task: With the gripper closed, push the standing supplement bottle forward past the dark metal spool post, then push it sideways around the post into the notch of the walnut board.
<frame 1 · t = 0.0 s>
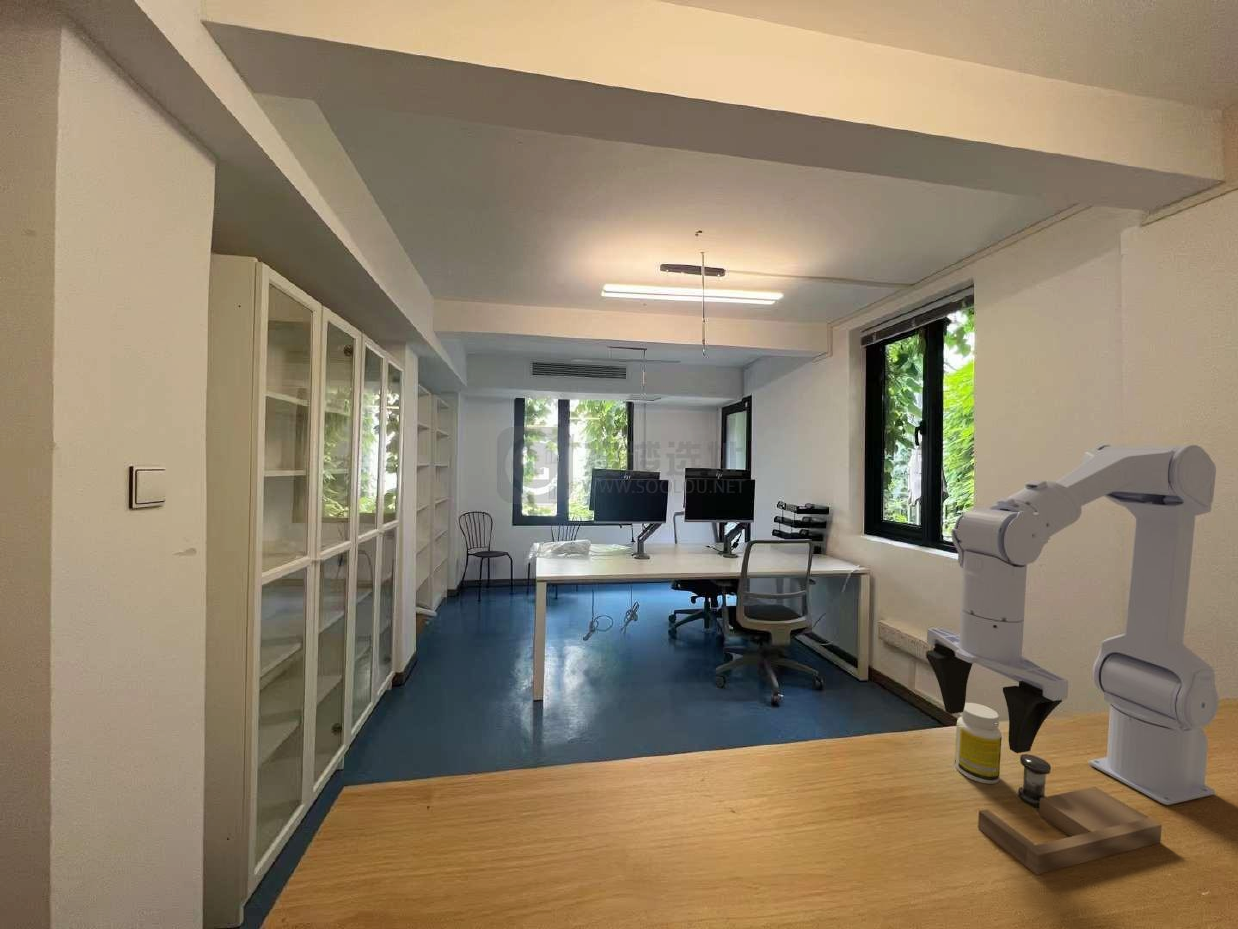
hand: (984, 729, 55), 10 cm above the table, tool pointing down, fingers open, 7 cm apart
notched board: (1037, 838, 52), on the table
supplement bottle: (976, 774, 63), on the table
spool post: (1033, 800, 58), on the table
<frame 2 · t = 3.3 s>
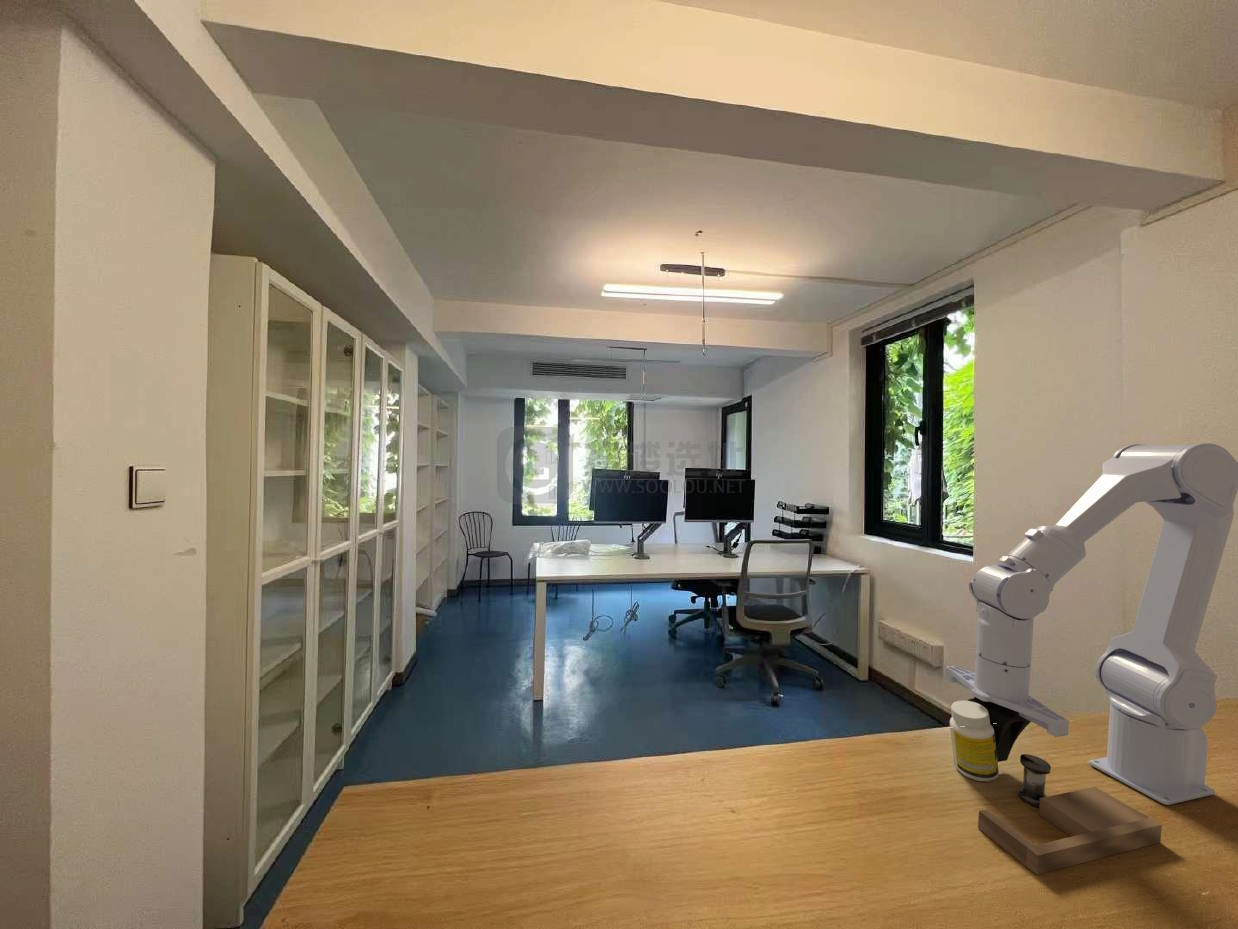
hand: (996, 758, 64), 1 cm above the table, tool pointing down, fingers closed
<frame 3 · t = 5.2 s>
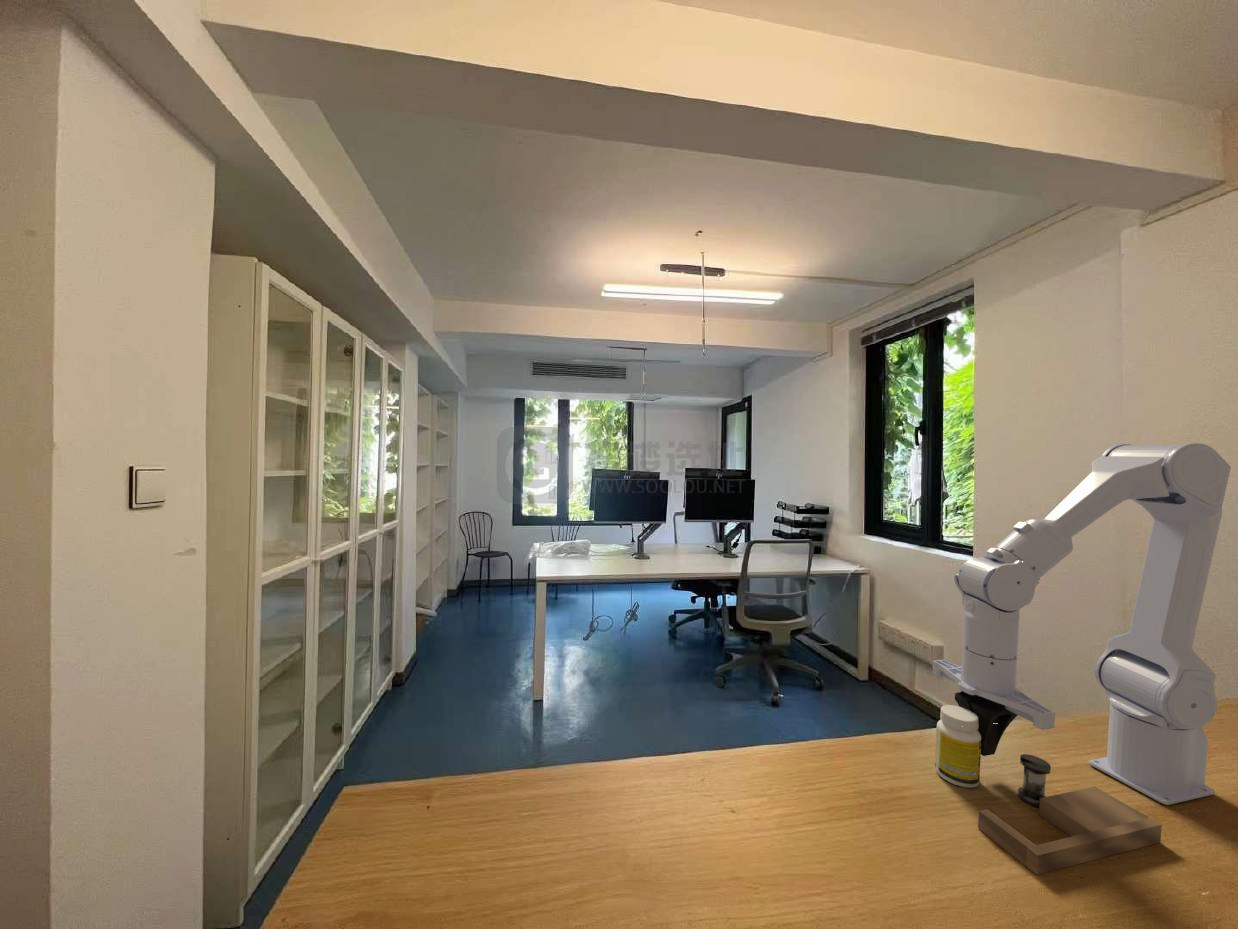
hand: (983, 752, 63), 3 cm above the table, tool pointing down, fingers closed, pressing on supplement bottle
supplement bottle: (956, 777, 62), on the table, touching gripper
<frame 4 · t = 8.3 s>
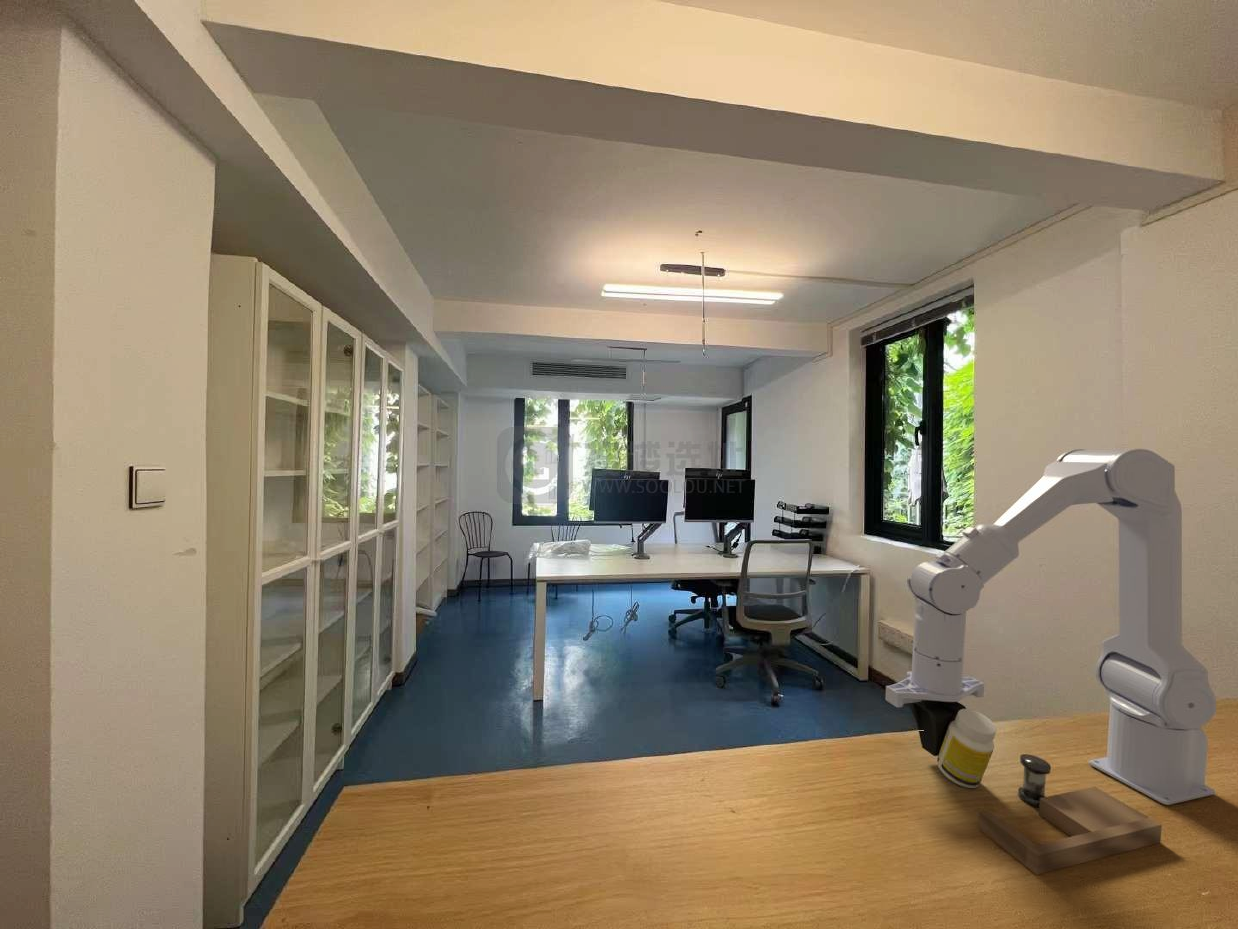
hand: (931, 751, 65), 1 cm above the table, tool pointing down, fingers closed
supplement bottle: (956, 773, 62), on the table, touching gripper
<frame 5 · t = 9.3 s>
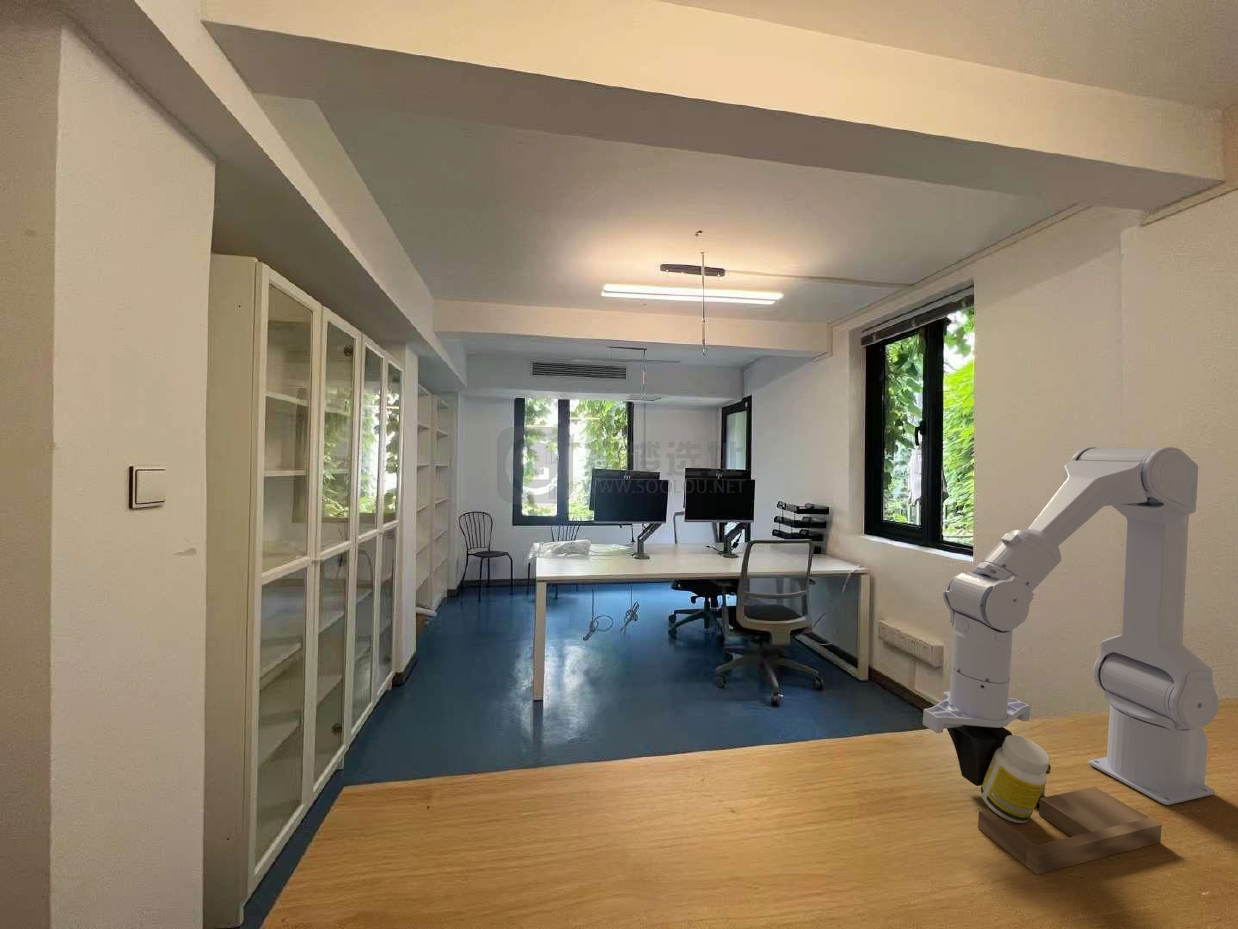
hand: (973, 780, 59), 2 cm above the table, tool pointing down, fingers closed
supplement bottle: (1003, 805, 56), on the table, touching gripper
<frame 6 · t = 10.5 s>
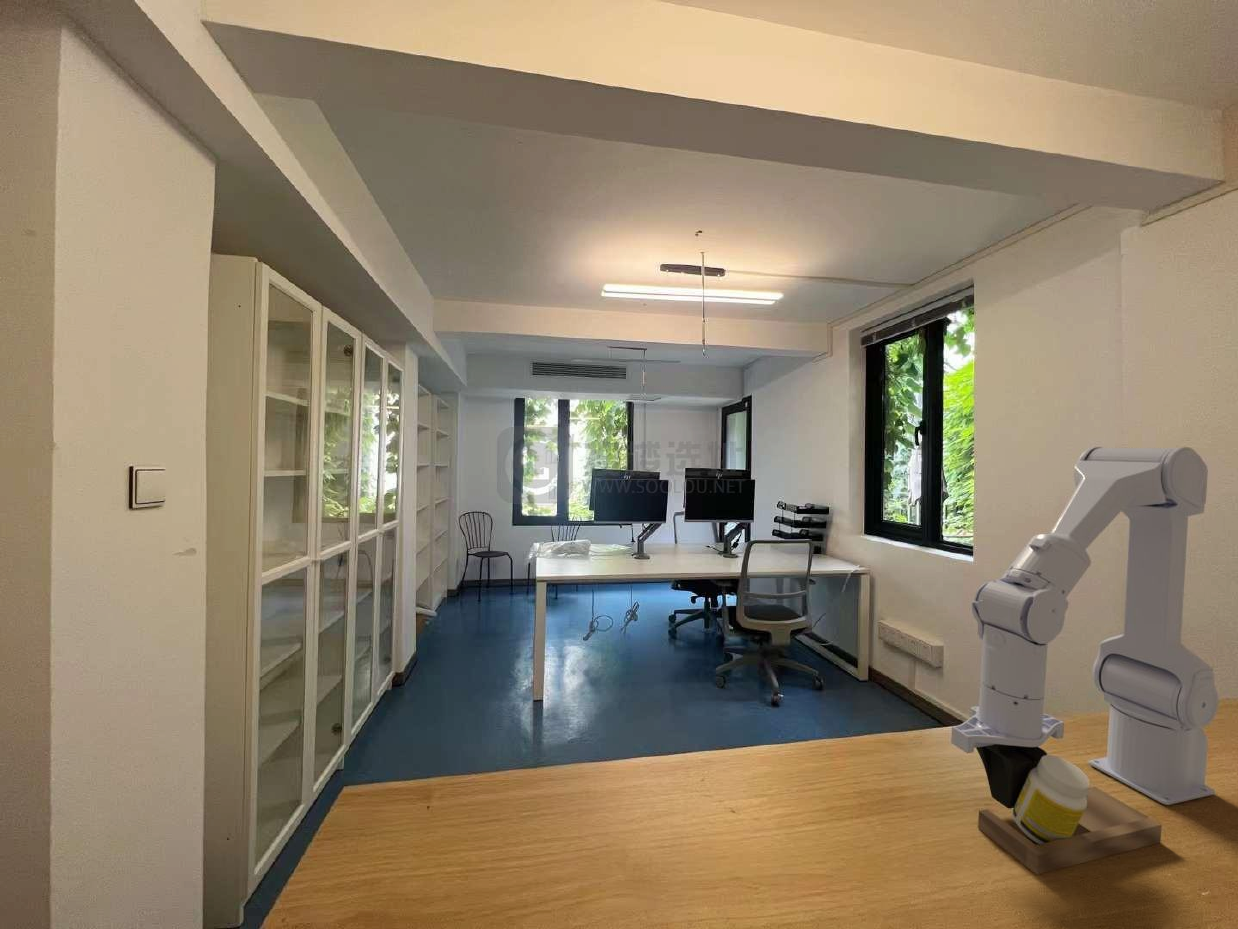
hand: (1004, 801, 56), 1 cm above the table, tool pointing down, fingers closed
supplement bottle: (1037, 830, 53), on the table, touching gripper, notched board
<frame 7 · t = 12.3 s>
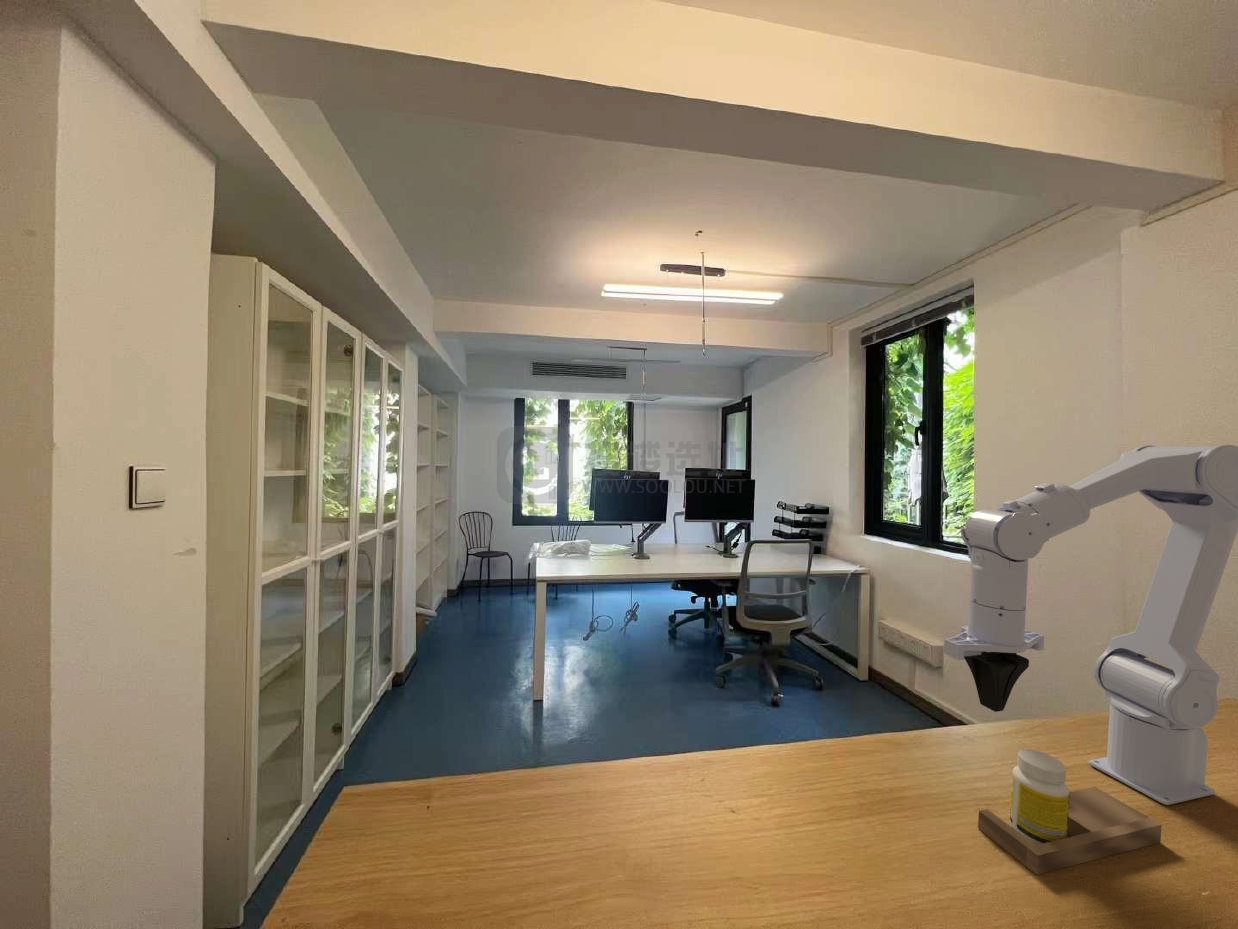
hand: (991, 707, 62), 9 cm above the table, tool pointing down, fingers closed
supplement bottle: (1036, 836, 53), on the table
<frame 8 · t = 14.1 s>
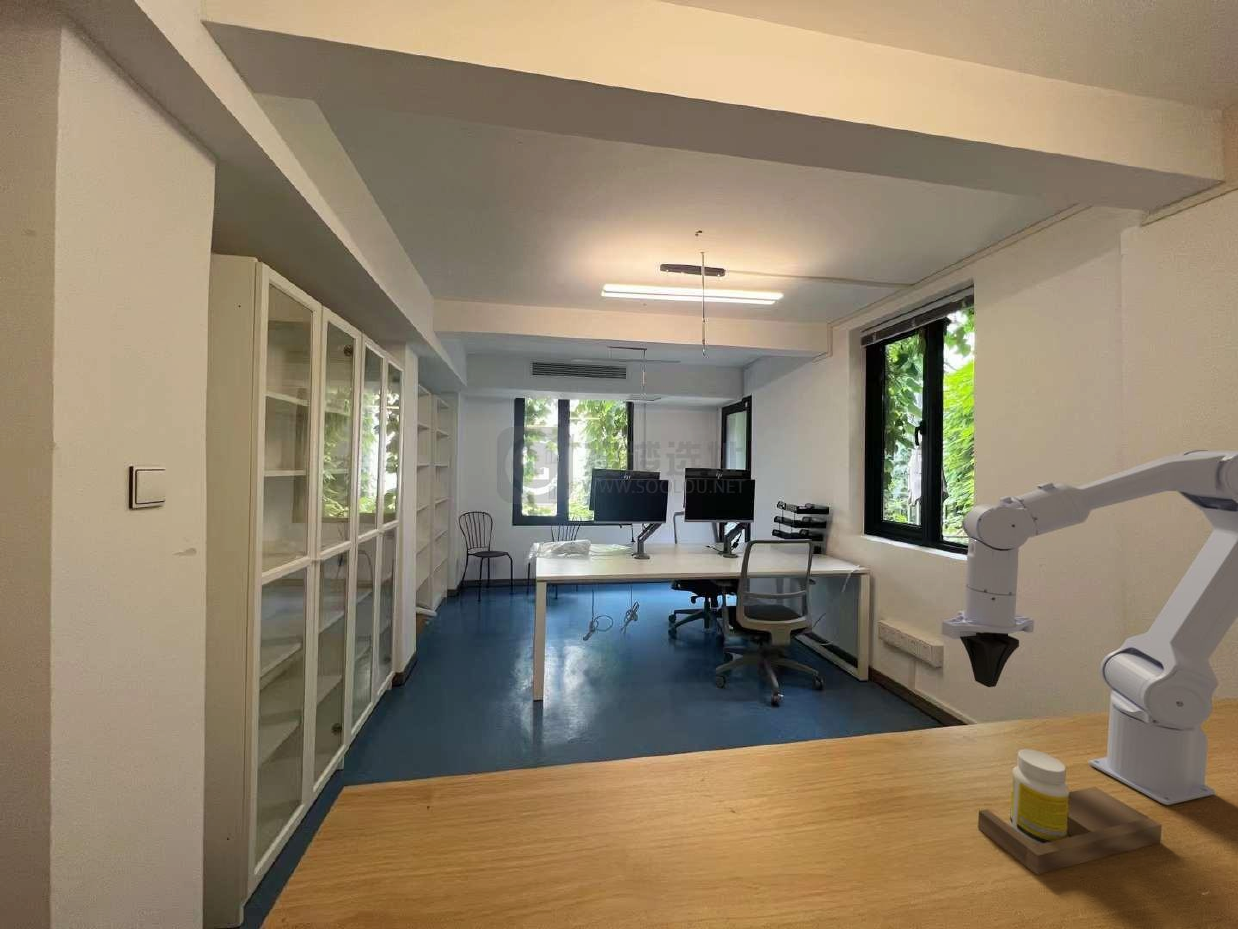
hand: (985, 683, 68), 9 cm above the table, tool pointing down, fingers closed
nothing on the table moved.
at the end: supplement bottle 0.7 cm off-centre on the notched board, point 0.0 cm above the notched board's base; supplement bottle tilted 0°; the gripper is holding nothing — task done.
